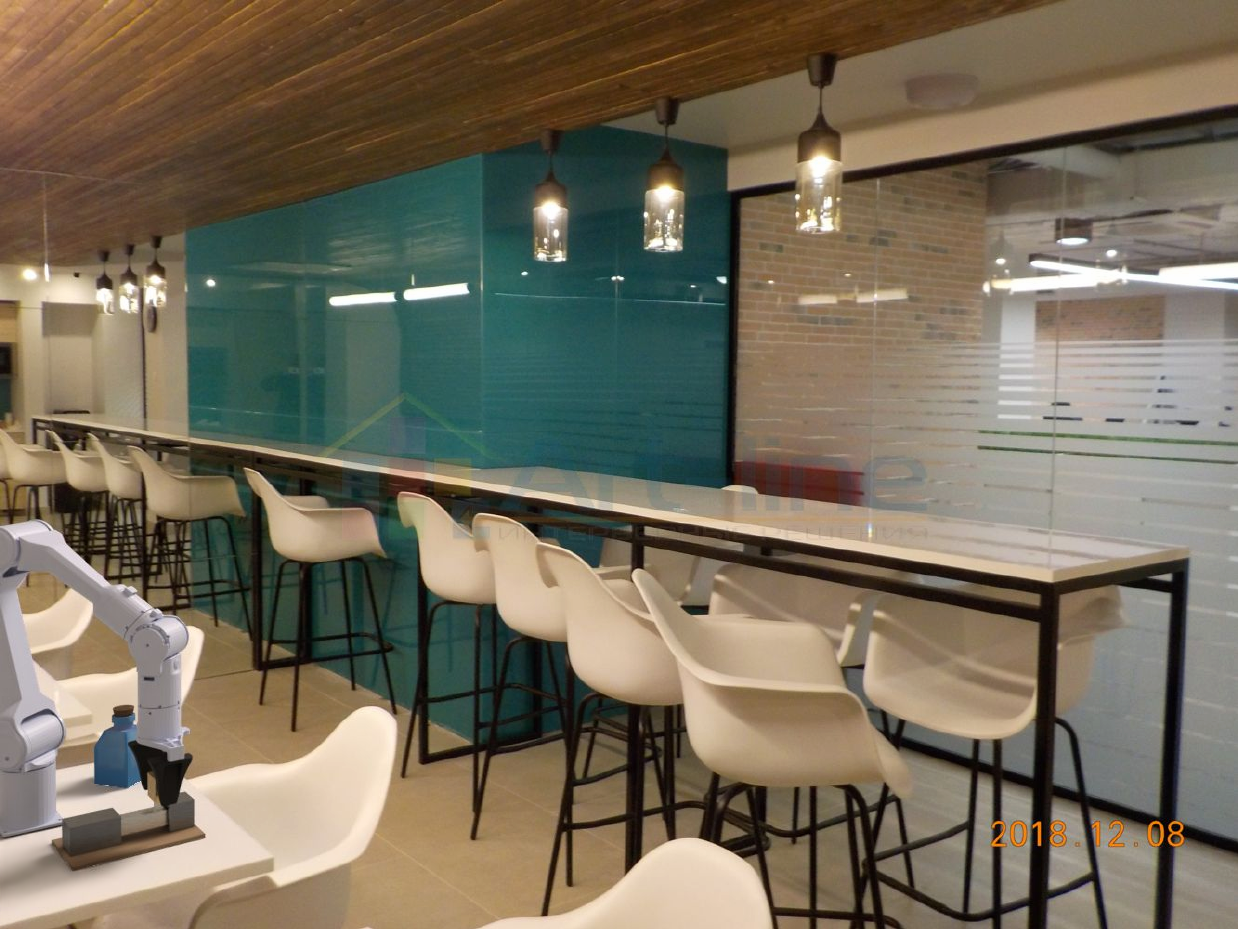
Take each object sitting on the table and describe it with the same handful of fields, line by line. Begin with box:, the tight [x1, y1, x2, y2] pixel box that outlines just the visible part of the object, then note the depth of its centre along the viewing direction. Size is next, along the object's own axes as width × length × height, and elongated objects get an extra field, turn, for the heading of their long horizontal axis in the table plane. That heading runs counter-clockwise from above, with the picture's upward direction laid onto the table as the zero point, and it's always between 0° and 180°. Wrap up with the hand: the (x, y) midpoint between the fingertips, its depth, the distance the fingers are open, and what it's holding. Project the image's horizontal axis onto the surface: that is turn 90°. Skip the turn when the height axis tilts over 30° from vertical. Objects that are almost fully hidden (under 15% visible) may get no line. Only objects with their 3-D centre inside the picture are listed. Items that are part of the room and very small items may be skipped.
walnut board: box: [51, 824, 206, 872], centre depth 148 cm, size 11×17×1 cm, turn 131°
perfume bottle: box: [93, 704, 141, 789], centre depth 171 cm, size 6×6×12 cm
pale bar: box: [119, 771, 169, 836], centre depth 149 cm, size 4×10×7 cm, turn 131°
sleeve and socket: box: [61, 791, 196, 857], centre depth 148 cm, size 4×16×4 cm, turn 131°
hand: (159, 796), depth 151 cm, fingers open, 7 cm apart
